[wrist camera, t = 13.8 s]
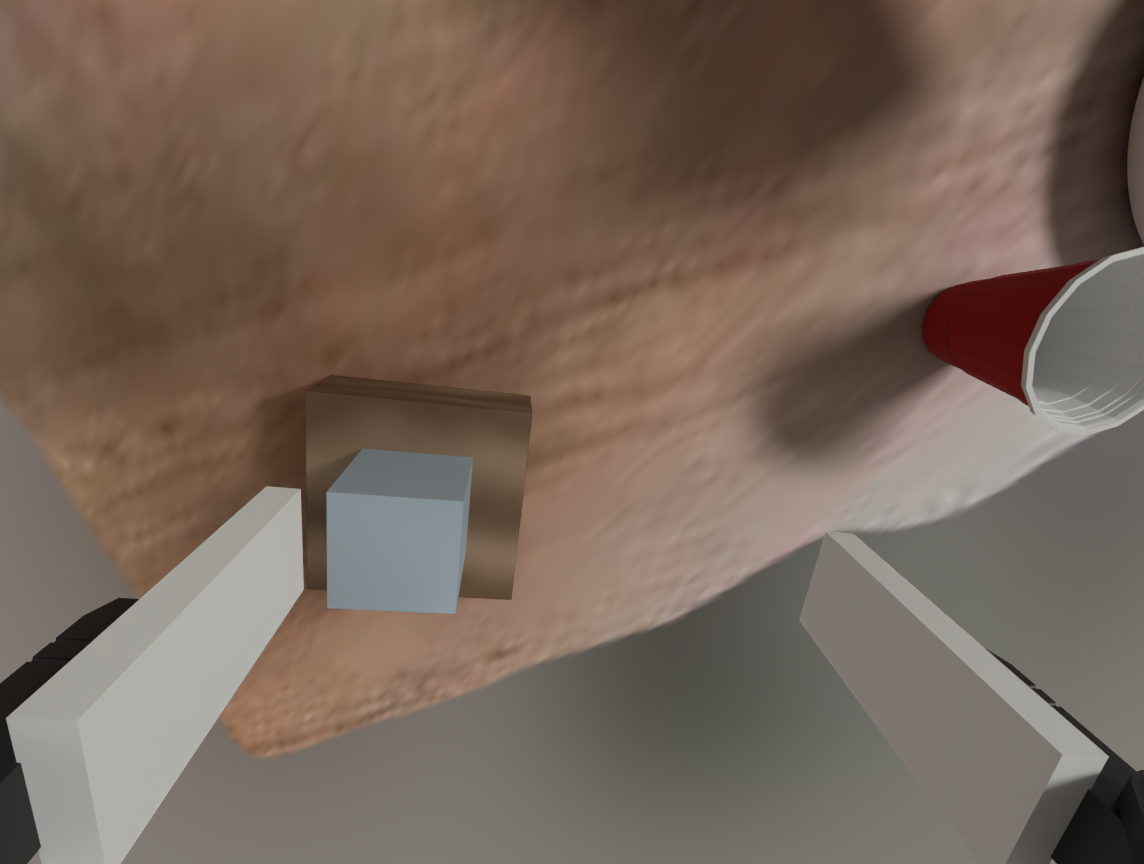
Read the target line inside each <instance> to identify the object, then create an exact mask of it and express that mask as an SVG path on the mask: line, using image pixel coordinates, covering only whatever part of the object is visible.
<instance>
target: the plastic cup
mask: <svg viewBox="0 0 1144 864" xmlns="http://www.w3.org/2000/svg"><path fill="white" fill-rule="evenodd" d="M922 331H923V340H924V342H925V344H926V346H927V348H928V350H929V351H931V352H932V353H933V354H934V355H936V356H937V357H938V358H940V359H941V360H943V361H944V362H947V363H949V364H951V365H953V366H955V367H957V368H960V369H962V370H963V371H964V372H966V373H967V374H969V375H971V376H973V377H975V378H977V379H979V380H981V381H983V382H985V383H987V384H989V385H991V386H993V387H995V388H997V389H999V390H1001V391H1003V392H1005V393H1007V394H1009V395H1011V396H1013V397H1015V398H1017V399H1019V400H1020V401H1021V402H1023V403H1024V404H1026V405H1028V406H1029V408H1030V411H1031V412H1032V413H1033V414H1034V415H1036V416H1037V417H1038V418H1040V419H1041V420H1042V421H1043V422H1045V423H1046V424H1047V425H1049V426H1050V427H1051V428H1052V429H1054V430H1055V431H1056V432H1063V433H1071V434H1078V435H1088V434H1092V433H1095V432H1099V431H1102V430H1106V429H1110V428H1113V427H1117V426H1119V425H1120V424H1122V423H1124V422H1125V421H1127V420H1128V419H1130V418H1131V417H1133V416H1134V415H1136V414H1138V413H1139V412H1141V411H1142V410H1144V247H1140V248H1136V249H1132V250H1128V251H1124V252H1121V253H1117V254H1113V255H1109V256H1106V257H1103V258H1101V259H1099V260H1094V261H1085V262H1081V263H1077V264H1074V265H1068V266H1061V267H1054V268H1048V269H1041V270H1035V271H1028V272H1021V273H1015V274H1008V275H1002V276H998V277H994V278H991V279H985V280H978V281H972V282H967V283H964V284H960V285H956V286H954V287H951V288H948V289H947V290H946V291H944V292H943V293H941V294H940V295H939V296H937V297H936V298H935V300H934V301H933V302H932V304H931V305H930V306H929V308H928V309H927V311H926V315H925V318H924V321H923V324H922Z"/></svg>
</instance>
